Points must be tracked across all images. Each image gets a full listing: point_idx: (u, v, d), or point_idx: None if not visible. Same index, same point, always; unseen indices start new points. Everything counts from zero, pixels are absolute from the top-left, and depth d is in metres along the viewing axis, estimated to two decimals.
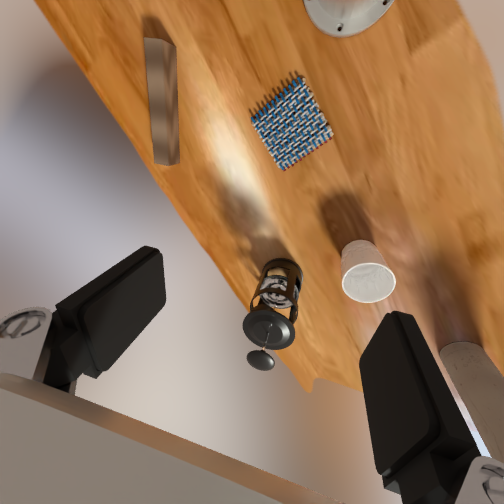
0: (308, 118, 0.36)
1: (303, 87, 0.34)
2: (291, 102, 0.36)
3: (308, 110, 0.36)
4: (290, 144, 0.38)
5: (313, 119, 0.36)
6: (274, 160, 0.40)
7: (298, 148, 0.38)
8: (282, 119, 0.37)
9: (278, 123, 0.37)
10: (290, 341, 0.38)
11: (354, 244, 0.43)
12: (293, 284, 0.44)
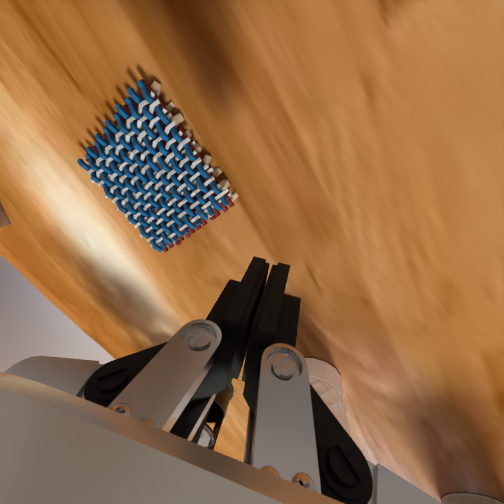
0: (180, 167, 0.17)
1: (152, 104, 0.15)
2: (139, 134, 0.17)
3: (174, 152, 0.17)
4: (159, 212, 0.20)
5: (188, 170, 0.17)
6: (141, 236, 0.22)
7: (174, 220, 0.20)
8: (132, 167, 0.18)
9: (127, 174, 0.19)
10: None
11: None
12: (198, 432, 0.26)
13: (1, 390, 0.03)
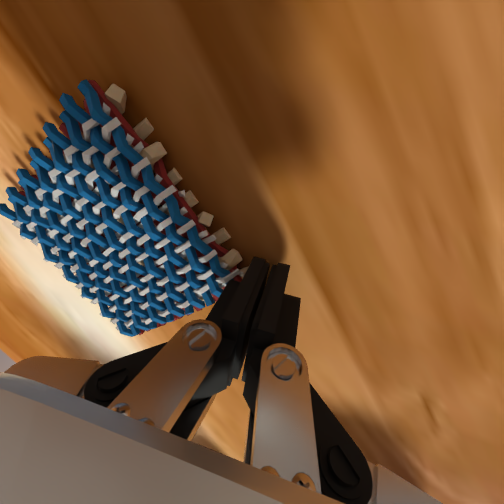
0: (159, 230, 0.10)
1: (107, 126, 0.08)
2: (87, 176, 0.10)
3: (148, 208, 0.10)
4: None
5: (171, 238, 0.10)
6: (102, 315, 0.14)
7: (151, 303, 0.12)
8: (80, 223, 0.11)
9: (73, 233, 0.11)
10: None
11: None
12: None
13: (1, 390, 0.03)
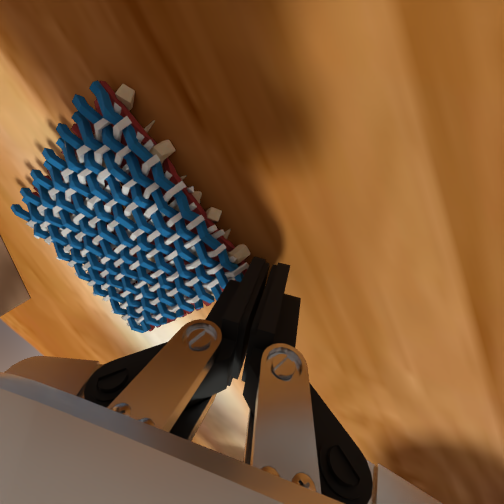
0: (169, 226, 0.10)
1: (118, 125, 0.09)
2: (99, 174, 0.10)
3: (159, 204, 0.10)
4: None
5: (181, 233, 0.10)
6: (113, 312, 0.15)
7: (161, 299, 0.13)
8: (92, 221, 0.11)
9: (85, 231, 0.12)
10: None
11: None
12: None
13: (1, 390, 0.03)
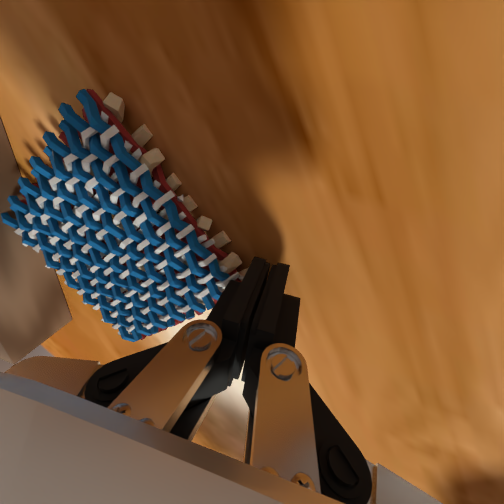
0: (158, 235, 0.10)
1: (105, 134, 0.08)
2: (86, 183, 0.10)
3: (147, 214, 0.10)
4: (128, 295, 0.12)
5: (171, 243, 0.10)
6: (103, 321, 0.14)
7: (152, 308, 0.12)
8: (81, 230, 0.11)
9: (74, 239, 0.11)
10: None
11: None
12: None
13: (1, 390, 0.03)
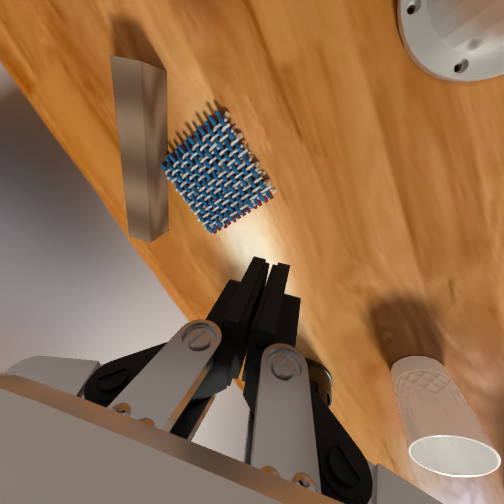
0: (237, 169, 0.25)
1: (225, 126, 0.23)
2: (211, 146, 0.24)
3: (235, 159, 0.24)
4: (217, 202, 0.27)
5: (244, 171, 0.24)
6: (198, 220, 0.29)
7: (228, 208, 0.27)
8: (201, 168, 0.25)
9: (197, 173, 0.26)
10: None
11: (417, 367, 0.30)
12: None
13: (1, 390, 0.03)
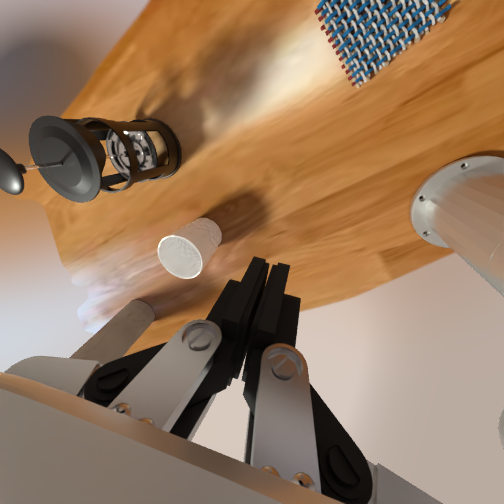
0: (387, 39, 0.26)
1: (433, 19, 0.24)
2: (418, 0, 0.23)
3: (399, 36, 0.25)
4: (355, 13, 0.25)
5: (384, 48, 0.26)
6: None
7: (347, 30, 0.26)
8: None
9: None
10: (68, 196, 0.27)
11: (215, 231, 0.42)
12: (150, 176, 0.34)
13: (1, 390, 0.03)
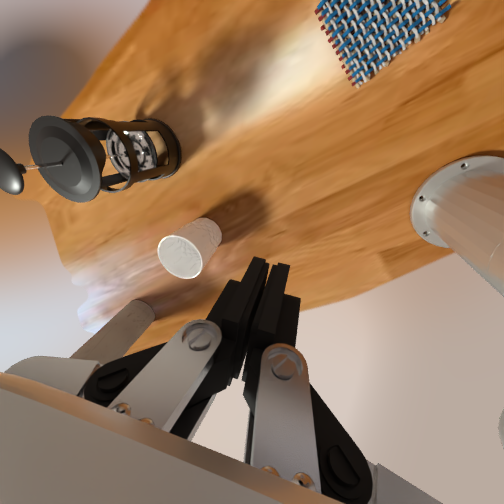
0: (387, 39, 0.26)
1: (433, 19, 0.24)
2: (418, 0, 0.23)
3: (399, 36, 0.25)
4: (355, 13, 0.25)
5: (384, 48, 0.26)
6: None
7: (347, 30, 0.26)
8: None
9: None
10: (67, 196, 0.27)
11: (215, 231, 0.42)
12: (150, 176, 0.34)
13: (1, 390, 0.03)
